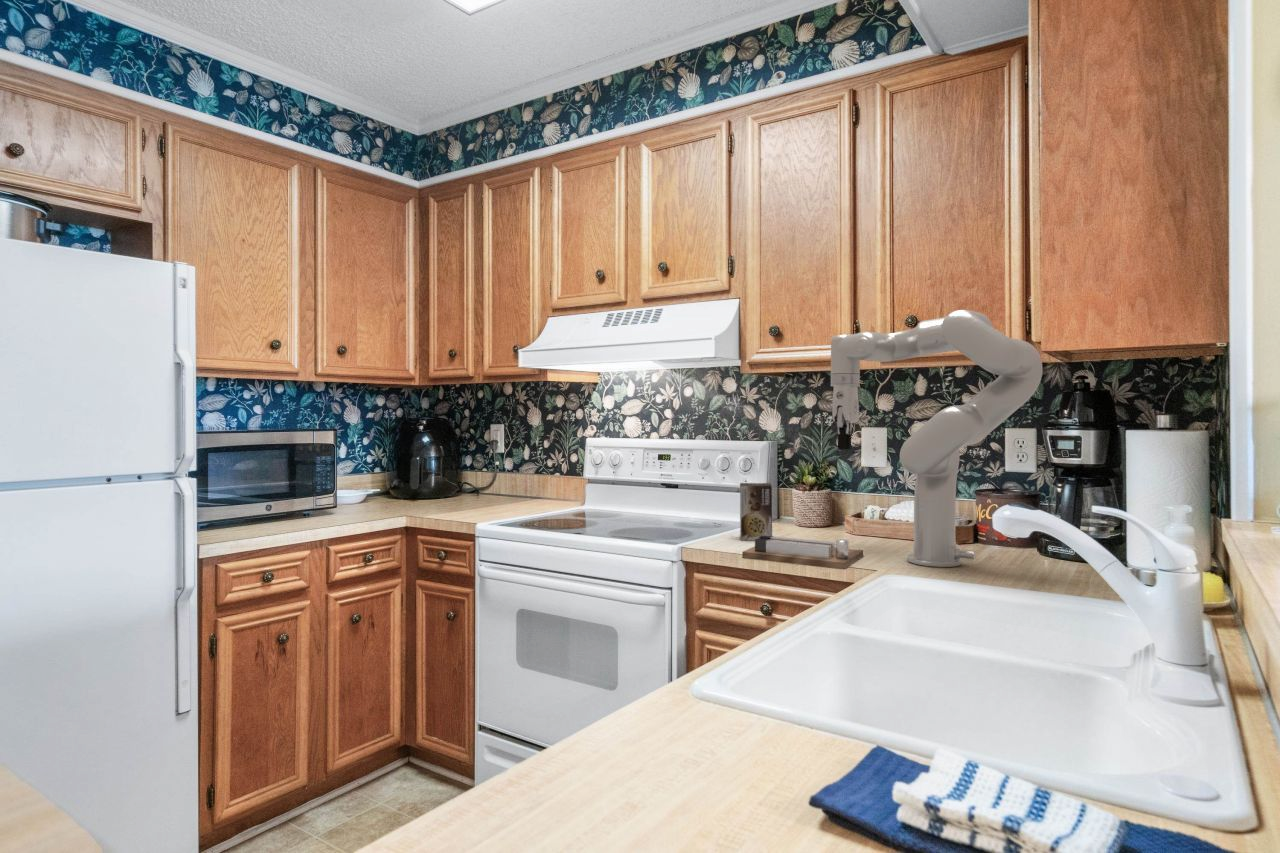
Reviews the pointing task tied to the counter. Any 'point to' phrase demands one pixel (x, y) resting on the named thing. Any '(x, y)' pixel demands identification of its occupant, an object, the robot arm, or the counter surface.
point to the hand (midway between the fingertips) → (844, 448)
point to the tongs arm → (802, 541)
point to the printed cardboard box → (755, 510)
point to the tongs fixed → (802, 548)
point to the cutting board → (805, 558)
